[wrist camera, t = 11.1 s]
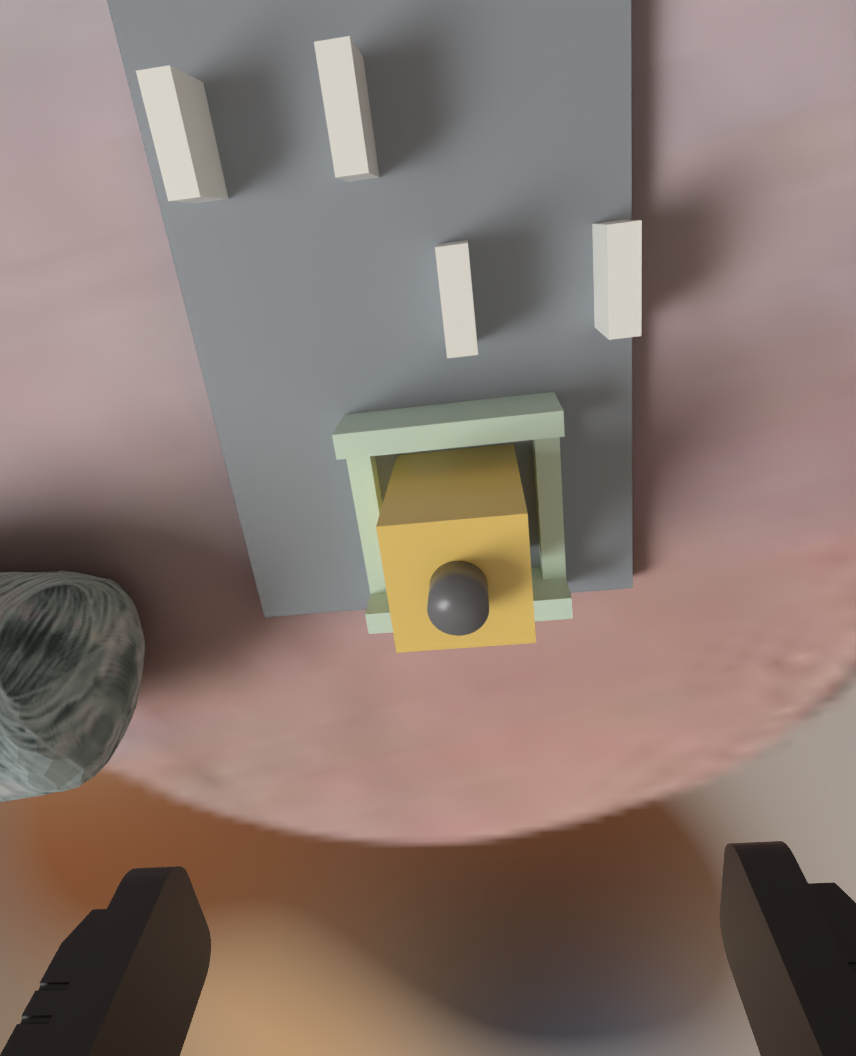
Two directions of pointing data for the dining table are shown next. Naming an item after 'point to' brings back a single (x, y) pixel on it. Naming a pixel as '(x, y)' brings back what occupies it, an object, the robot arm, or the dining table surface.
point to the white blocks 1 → (191, 137)
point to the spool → (64, 678)
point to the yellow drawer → (457, 550)
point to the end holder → (453, 429)
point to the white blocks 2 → (611, 274)
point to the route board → (399, 254)
